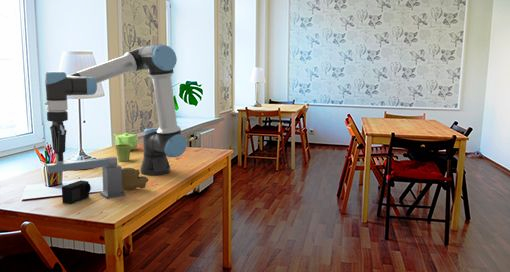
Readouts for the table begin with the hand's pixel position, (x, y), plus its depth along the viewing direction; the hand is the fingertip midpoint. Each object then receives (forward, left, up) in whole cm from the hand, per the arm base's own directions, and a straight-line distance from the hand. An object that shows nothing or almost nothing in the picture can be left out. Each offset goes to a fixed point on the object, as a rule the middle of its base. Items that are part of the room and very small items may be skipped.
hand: (59, 168), depth 173 cm
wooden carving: (-28, +2, -13) cm, 31 cm away
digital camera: (-5, +6, -13) cm, 15 cm away
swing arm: (-8, +6, 0) cm, 10 cm away
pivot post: (-19, +6, -13) cm, 24 cm away
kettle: (-59, -83, -13) cm, 102 cm away
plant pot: (-47, -55, -13) cm, 73 cm away
